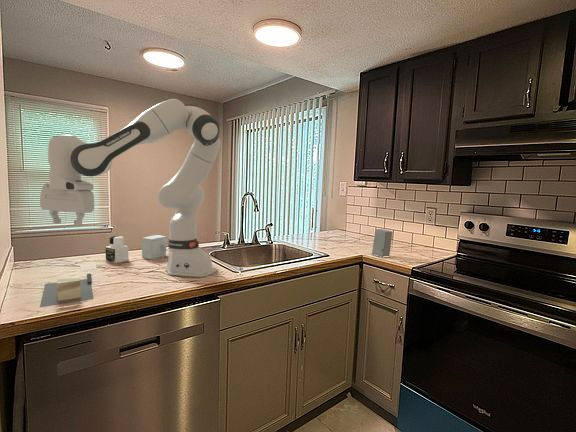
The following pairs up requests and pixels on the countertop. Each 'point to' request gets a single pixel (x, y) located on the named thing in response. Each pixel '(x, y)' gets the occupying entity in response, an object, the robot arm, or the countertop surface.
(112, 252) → the medicine bottle
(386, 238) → the skincare box
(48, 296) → the rubber mat
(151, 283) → the countertop surface
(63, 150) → the robot arm
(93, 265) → the spatula
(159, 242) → the skincare box
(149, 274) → the countertop surface
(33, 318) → the countertop surface
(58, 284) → the birch cube
